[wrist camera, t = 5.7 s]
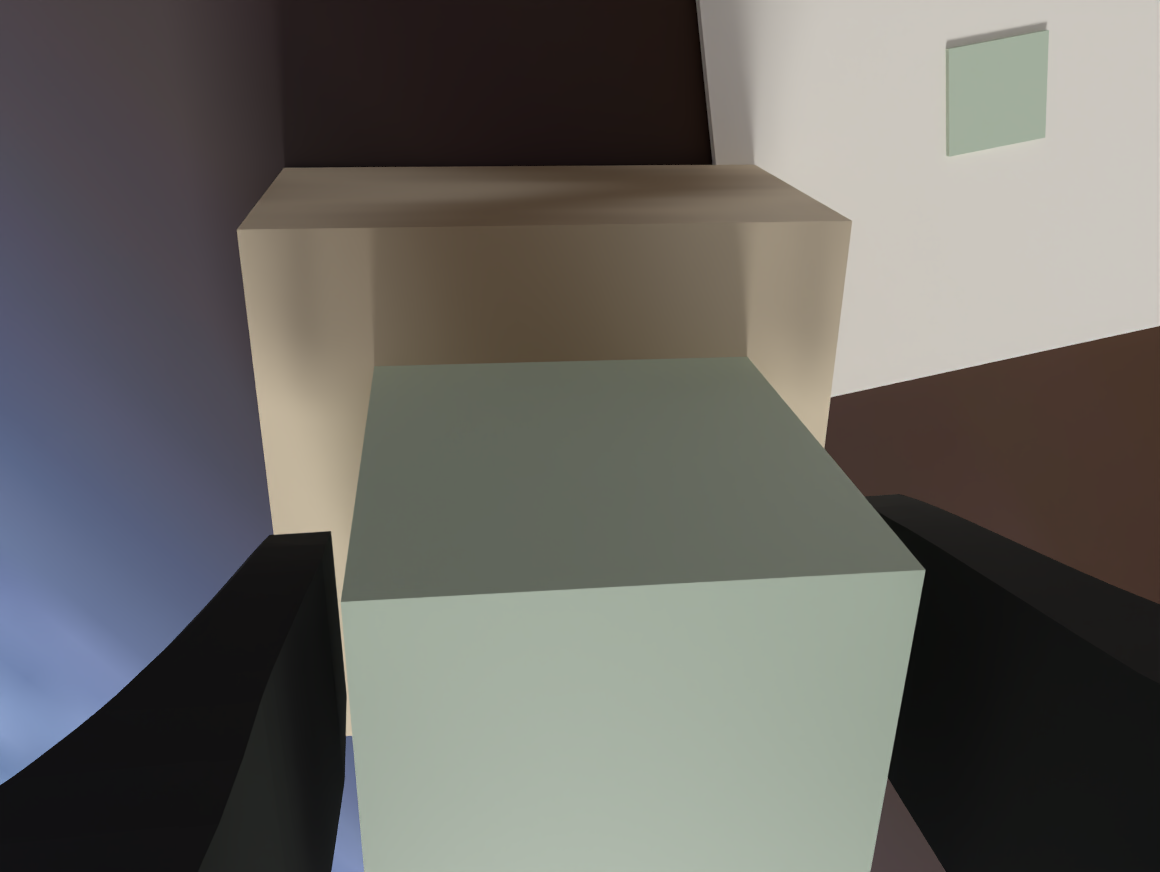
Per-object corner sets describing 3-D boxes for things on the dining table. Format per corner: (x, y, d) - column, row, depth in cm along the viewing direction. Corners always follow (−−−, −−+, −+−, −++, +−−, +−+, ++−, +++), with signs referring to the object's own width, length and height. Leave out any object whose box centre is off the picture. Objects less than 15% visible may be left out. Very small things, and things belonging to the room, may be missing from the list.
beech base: (754, 164, 16) (852, 220, 12) (721, 560, 19) (793, 701, 15) (283, 168, 15) (236, 229, 11) (325, 583, 18) (298, 739, 14)
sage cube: (747, 356, 13) (926, 569, 8) (719, 659, 14) (851, 971, 10) (374, 365, 12) (339, 602, 7) (394, 679, 14) (377, 1022, 9)
